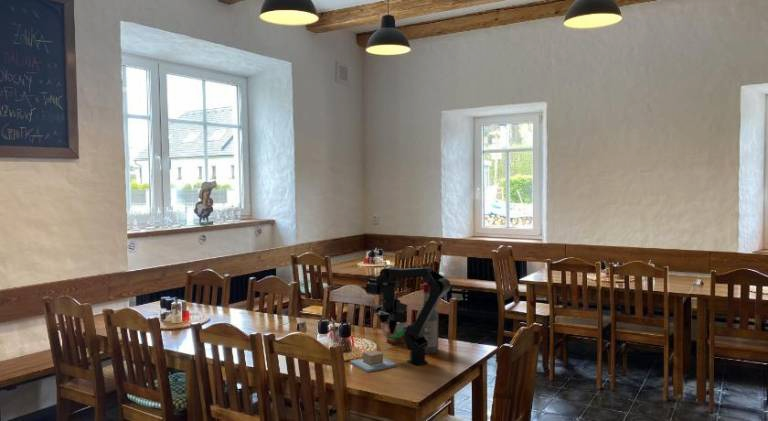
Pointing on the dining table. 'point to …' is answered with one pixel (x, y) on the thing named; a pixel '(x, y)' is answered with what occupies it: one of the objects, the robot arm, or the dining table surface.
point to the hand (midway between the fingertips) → (388, 332)
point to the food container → (398, 334)
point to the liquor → (430, 325)
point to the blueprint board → (368, 369)
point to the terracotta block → (387, 329)
